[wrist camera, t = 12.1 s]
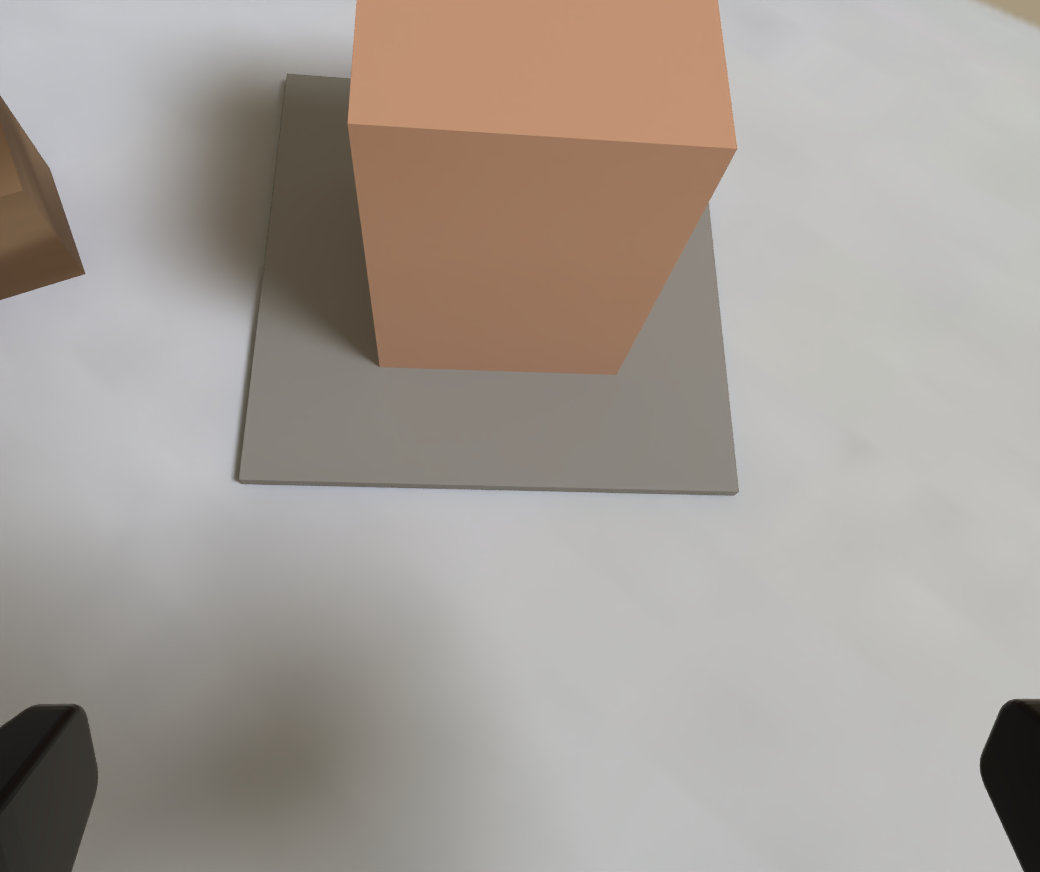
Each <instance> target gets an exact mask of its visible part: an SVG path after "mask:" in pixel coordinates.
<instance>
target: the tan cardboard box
mask: <svg viewBox="0 0 1040 872" xmlns="http://www.w3.org/2000/svg"><path fill="white" fill-rule="evenodd" d="M348 131H349V139H350V146H351V154H352V161H353V169H354V176H355V184H356V192H357V199H358V207H359V214H360V222H361V229H362V237H363V244H364V252H365V260H366V267H367V275H368V282H369V290H370V297H371V305H372V312H373V320H374V328H375V335H376V343H377V350H378V358H379V365H380V367H391V368H422V369H452V370H482V371H512V372H543V373H573V374H603V375H617V373H618V371H619V369H620V368H621V366H622V364H623V362H624V360H625V358H626V356H627V354H628V353H629V351H630V349H631V347H632V345H633V343H634V341H635V339H636V338H637V336H638V334H639V332H640V330H641V328H642V326H643V324H644V323H645V321H646V319H647V317H648V315H649V313H650V311H651V309H652V308H653V306H654V304H655V302H656V300H657V298H658V296H659V294H660V293H661V291H662V289H663V287H664V285H665V283H666V281H667V279H668V278H669V276H670V274H671V272H672V270H673V268H674V266H675V264H676V263H677V261H678V259H679V257H680V255H681V253H682V251H683V249H684V248H685V246H686V244H687V242H688V240H689V238H690V236H691V234H692V233H693V231H694V229H695V227H696V225H697V223H698V221H699V219H700V217H701V216H702V214H703V212H704V210H705V208H706V206H707V204H708V202H709V201H710V199H711V197H712V195H713V193H714V191H715V189H716V187H717V186H718V184H719V182H720V180H721V178H722V176H723V174H724V172H725V171H726V169H727V167H728V165H729V163H730V161H731V159H732V157H733V156H734V154H735V152H736V150H737V144H736V136H735V129H734V121H733V113H732V106H731V98H730V90H729V83H728V75H727V67H726V60H725V52H724V44H723V36H722V29H721V21H720V13H719V6H718V0H357V4H356V17H355V30H354V44H353V57H352V71H351V84H350V97H349V111H348Z"/></svg>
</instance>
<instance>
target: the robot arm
mask: <svg viewBox="0 0 1040 872" xmlns="http://www.w3.org/2000/svg"><path fill="white" fill-rule="evenodd" d="M980 773H981V777H982V780H983V783H984V786H985V788H986V790H987V792H988V794H989V797H990V799H991V801H992V803H993V805H994V808H995V810H996V812H997V814H998V816H999V819H1000V821H1001V823H1002V825H1003V827H1004V830H1005V832H1006V834H1007V836H1008V838H1009V841H1010V843H1011V845H1012V847H1013V849H1014V851H1015V854H1016V856H1017V858H1018V860H1019V862H1020V865H1021V867H1022V869H1023V871H1024V872H1040V699H1013V700H1010V701H1008V702H1007V703H1005V704H1004V705H1003V706H1002V708H1001V709H1000V711H999V714H998V716H997V718H996V721H995V723H994V726H993V728H992V730H991V733H990V735H989V737H988V740H987V742H986V745H985V747H984V749H983V752H982V754H981V758H980ZM97 783H98V768H97V763H96V758H95V753H94V748H93V743H92V738H91V733H90V728H89V724H88V719H87V715H86V713H85V711H84V709H83V708H82V707H81V706H79V705H76V704H38V705H33V706H31V707H29V708H27V709H25V710H24V711H22V712H21V713H19V714H18V715H17V716H15V717H14V718H12V719H11V720H10V721H8V722H7V723H5V724H4V725H3V726H1V727H0V872H71V871H72V868H73V865H74V862H75V859H76V855H77V852H78V849H79V846H80V843H81V840H82V836H83V833H84V830H85V827H86V824H87V821H88V817H89V814H90V811H91V808H92V805H93V801H94V798H95V794H96V790H97Z"/></svg>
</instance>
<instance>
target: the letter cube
mask: <svg viewBox="0 0 1040 872" xmlns="http://www.w3.org/2000/svg"><path fill="white" fill-rule="evenodd" d="M83 274H85V271H84V268H83V265H82V262H81V259H80V257H79V254H78V251H77V248H76V245H75V242H74V239H73V236H72V233H71V230H70V227H69V224H68V221H67V218H66V215H65V212H64V209H63V206H62V203H61V200H60V197H59V195H58V192H57V189H56V186H55V183H54V180H53V177H52V174H51V171H50V168H49V167H48V165H47V164H46V163H45V161H44V160H43V158H42V157H41V155H40V154H39V152H38V151H37V149H36V148H35V146H34V145H33V143H32V142H31V140H30V139H29V137H28V136H27V134H26V133H25V131H24V130H23V129H22V127H21V126H20V124H19V123H18V121H17V120H16V118H15V117H14V115H13V114H12V112H11V111H10V109H9V108H8V106H7V105H6V103H5V102H4V100H3V99H2V97H1V96H0V300H2V299H5V298H8V297H12V296H15V295H18V294H21V293H25V292H28V291H31V290H34V289H38V288H41V287H44V286H47V285H51V284H54V283H57V282H60V281H64V280H67V279H70V278H73V277H77V276H80V275H83Z"/></svg>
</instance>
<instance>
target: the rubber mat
mask: <svg viewBox="0 0 1040 872" xmlns="http://www.w3.org/2000/svg"><path fill="white" fill-rule="evenodd" d="M350 84H351V79H349V78H336V77H323V76H309V75H296V74H287V78H286V86H285V95H284V103H283V111H282V120H281V128H280V137H279V145H278V153H277V162H276V170H275V179H274V187H273V196H272V204H271V212H270V221H269V229H268V238H267V246H266V255H265V263H264V271H263V280H262V288H261V297H260V305H259V314H258V322H257V330H256V339H255V347H254V356H253V364H252V373H251V381H250V389H249V398H248V406H247V415H246V423H245V431H244V440H243V448H242V457H241V465H240V474H239V481H240V482H241V483H242V484H269V485H311V486H354V487H396V488H438V489H481V490H523V491H565V492H607V493H650V494H692V495H735V494H736V493H738V492H739V489H738V479H737V469H736V460H735V450H734V441H733V431H732V422H731V412H730V402H729V393H728V383H727V374H726V364H725V355H724V345H723V336H722V326H721V316H720V307H719V297H718V288H717V278H716V269H715V259H714V249H713V240H712V230H711V221H710V211H709V202H708V204H707V206H706V208H705V210H704V212H703V214H702V216H701V217H700V219H699V221H698V223H697V225H696V227H695V229H694V231H693V233H692V234H691V236H690V238H689V240H688V242H687V244H686V246H685V248H684V249H683V251H682V253H681V255H680V257H679V259H678V261H677V263H676V264H675V266H674V268H673V270H672V272H671V274H670V276H669V278H668V279H667V281H666V283H665V285H664V287H663V289H662V291H661V293H660V294H659V296H658V298H657V300H656V302H655V304H654V306H653V308H652V309H651V311H650V313H649V315H648V317H647V319H646V321H645V323H644V324H643V326H642V328H641V330H640V332H639V334H638V336H637V338H636V339H635V341H634V343H633V345H632V347H631V349H630V351H629V353H628V354H627V356H626V358H625V360H624V362H623V364H622V366H621V368H620V369H619V371H618V373H617V375H603V374H573V373H543V372H512V371H482V370H452V369H422V368H391V367H380V365H379V358H378V350H377V343H376V335H375V328H374V320H373V312H372V305H371V297H370V290H369V282H368V275H367V267H366V260H365V252H364V244H363V237H362V229H361V222H360V214H359V207H358V199H357V192H356V184H355V176H354V169H353V161H352V154H351V146H350V139H349V131H348V111H349V97H350Z"/></svg>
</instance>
